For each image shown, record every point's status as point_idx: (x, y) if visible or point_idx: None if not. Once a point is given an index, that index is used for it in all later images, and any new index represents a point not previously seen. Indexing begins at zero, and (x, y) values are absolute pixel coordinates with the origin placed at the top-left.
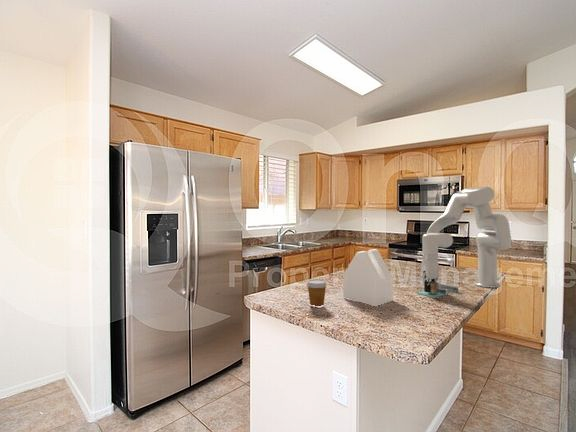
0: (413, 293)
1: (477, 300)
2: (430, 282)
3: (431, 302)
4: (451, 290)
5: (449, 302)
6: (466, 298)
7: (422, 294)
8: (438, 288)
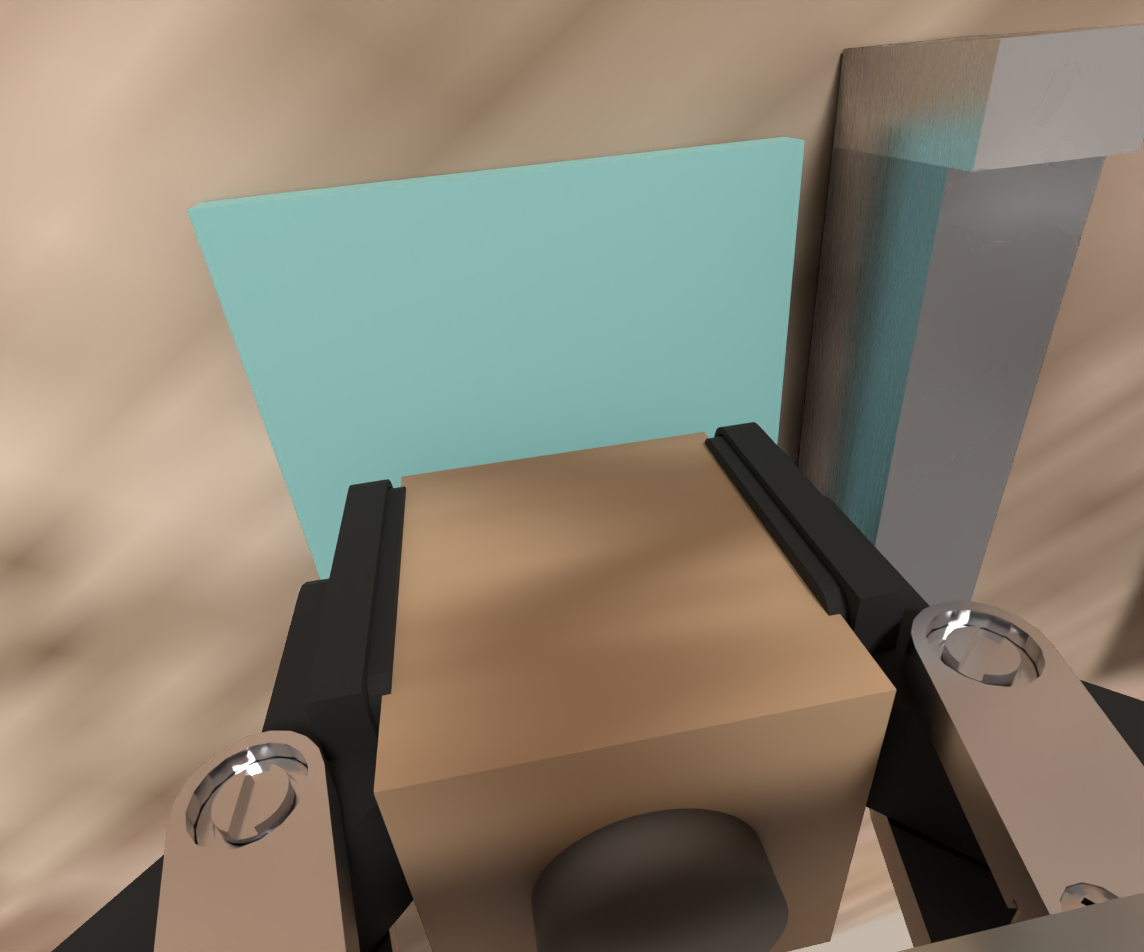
0: (46, 93)
1: (870, 916)
2: (535, 939)
3: (48, 883)
4: None
5: (413, 922)
6: (864, 842)
7: (272, 427)
8: (927, 565)
